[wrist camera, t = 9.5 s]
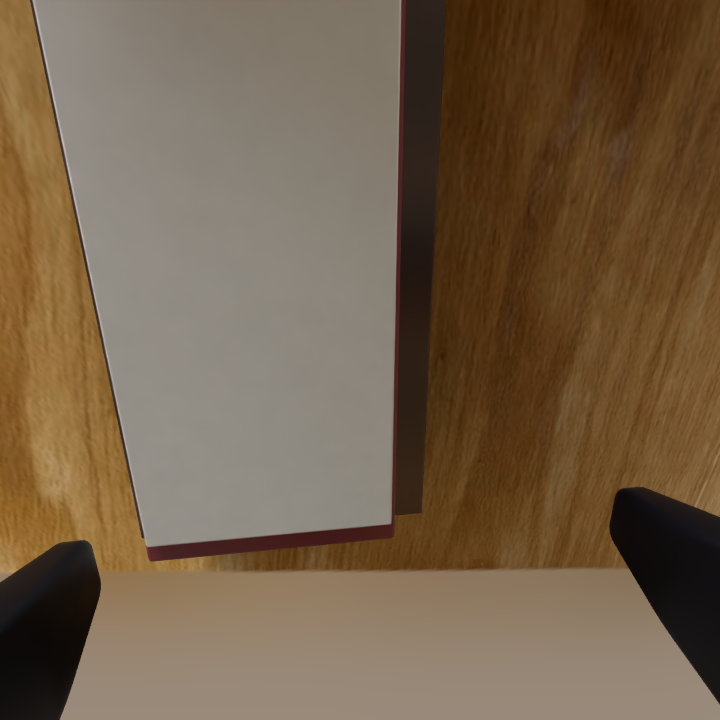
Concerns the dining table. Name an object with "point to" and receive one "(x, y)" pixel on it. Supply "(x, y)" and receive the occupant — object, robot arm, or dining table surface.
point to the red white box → (242, 256)
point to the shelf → (415, 242)
